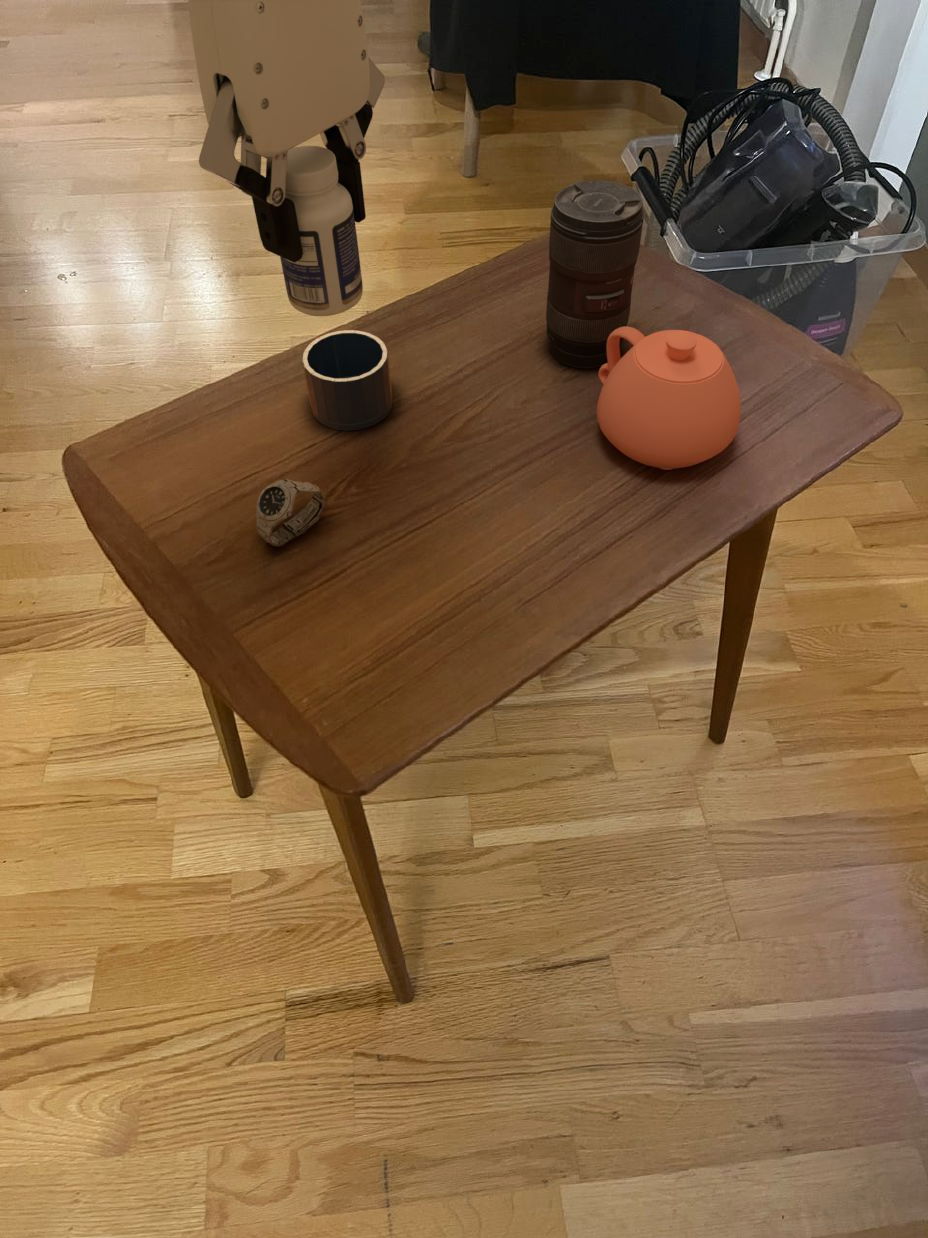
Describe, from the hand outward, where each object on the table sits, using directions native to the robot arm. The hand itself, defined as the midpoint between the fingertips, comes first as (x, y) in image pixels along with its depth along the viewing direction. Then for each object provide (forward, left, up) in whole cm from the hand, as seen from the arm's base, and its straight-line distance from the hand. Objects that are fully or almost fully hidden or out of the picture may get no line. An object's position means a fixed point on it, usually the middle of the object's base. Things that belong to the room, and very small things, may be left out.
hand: (315, 231), depth 62 cm
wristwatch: (0, -7, -23) cm, 24 cm away
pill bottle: (0, 0, -5) cm, 5 cm away
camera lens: (+6, +28, -23) cm, 36 cm away
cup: (-7, +8, -23) cm, 25 cm away
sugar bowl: (+18, +21, -23) cm, 36 cm away
